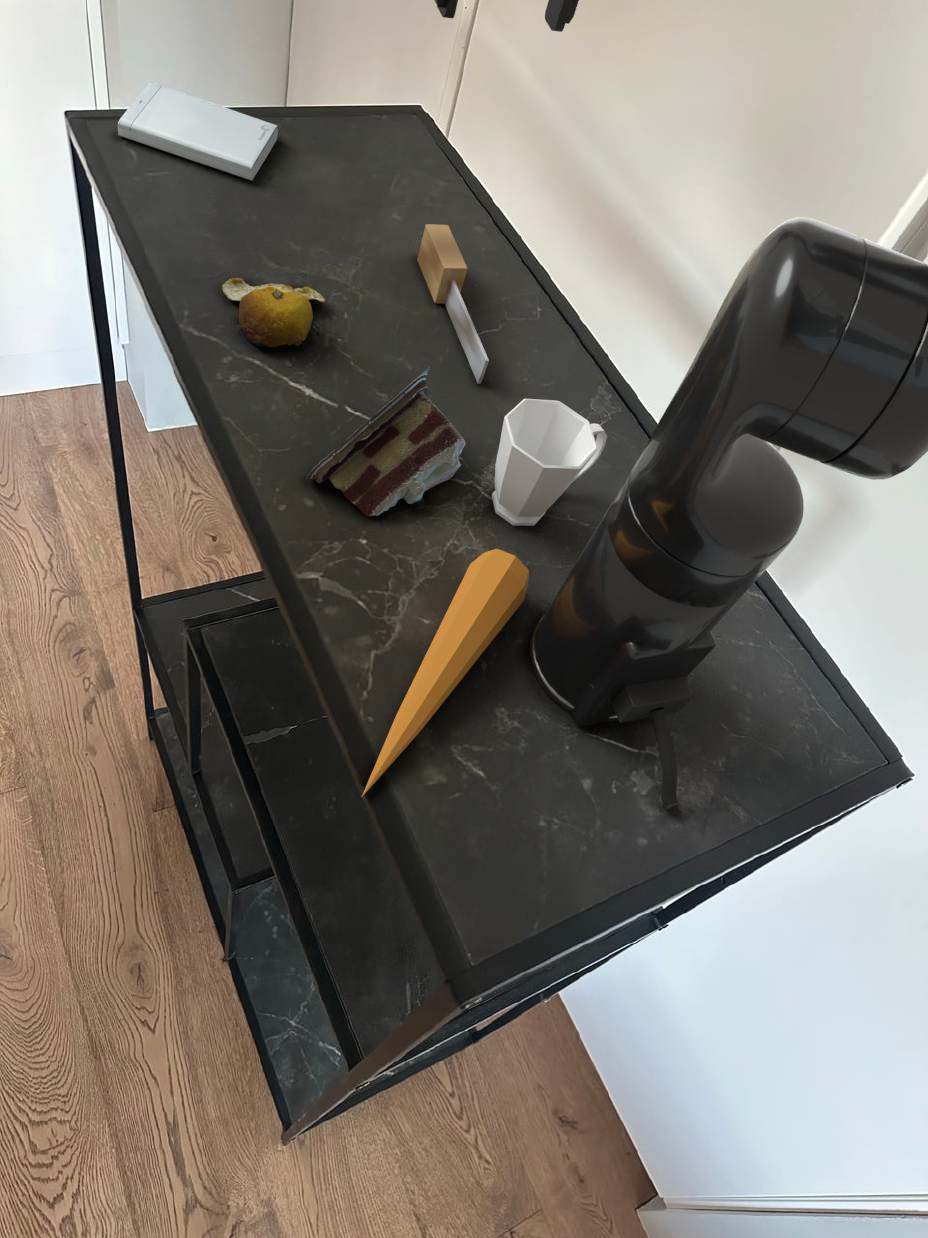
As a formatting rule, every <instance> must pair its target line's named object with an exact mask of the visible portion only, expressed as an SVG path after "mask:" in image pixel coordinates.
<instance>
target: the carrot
mask: <svg viewBox="0 0 928 1238" xmlns="http://www.w3.org/2000/svg"><path fill="white" fill-rule="evenodd" d="M529 578H530V570H529V569H528V568H527V566H526V565H525V564H524V563H523V562H522V561H521V560H520V559H519V558H518V557H517V555H515V554H513V553H509V552H507V551H505V550H502V549H499V548H494V549H491V550H488V551H485V552H483V553H481V555H479V556H478V557H477V558H475V560H473V561H472V562H471V563H470V564H468V568H467V569H466V572H465V573H464V576H463V578H462V580H461V582H460V584H459V586H458V588H457V590H456V592H455V594H454V596H453V599H452V601H450V604H449V606H448V608H447V611H446V613H445V615H444V617H443V619H442V621H441V623H440V625H439V627H438V629H437V631H436V633H435V634H434V637H433V639H432V641H431V644H430V645H429V647H428V649H427V651H426V654H425V655H424V658H423V659H422V662H421V663H420V666H419V668H418V670H417V672H416V673H415V676H414V678H413V680H412V682H411V684H410V686H409V688H408V690H407V692H406V694H405V696H404V699H403V701H402V702H401V705H400V707H399V709H398V711H397V713H396V715H395V716H394V717H395V718H394V720H393V722H392V724H391V727H390V729H389V731H388V734H387V736H386V738H385V741H384V743H383V745H382V747H381V750H380V753H379V755H378V757H377V760H376V762H375V765H374V767H373V769H372V771H371V774H370V777H369V778H368V781H367V783H366V786H365V788H364V790H363V793H362V794H361V798H363V797H364V796H365V794H366V793H367V792H368V791H369V790H370V789H371V788H372V787H373V785H375V783H376V782H377V781H378V780H379V779H380V778H381V776H382V775H383V774H384V773H385V772H386V771H387V770H388V769H389V767H390V766H391V765H392V764H393V763H394V762H395V761H396V760H397V758H398V757H399V756H400V755H401V754H402V753H403V751H404V750H405V749H407V747H408V746H409V745H410V743H412V741H413V740H414V739H415V738H416V737H417V736H418V735H419V733H420V732H422V730H423V729H424V728H425V726H426V725H427V723H429V721H430V720H431V719H432V717H433V716H434V715H435V714H436V712H437V711H438V710H439V709H440V707H441V706H442V705H443V703H444V702H445V701H446V699H447V698H448V697H449V696H450V695H451V693H453V691H454V690H455V688H456V687H457V686H458V685H459V684H460V682H461V681H462V680H463V679H464V677H465V676H466V675H467V673H468V672H469V670H470V669H471V668H472V667H473V665H474V664H475V663H476V662H477V660H478V659H479V658H480V657H481V656H482V654H483V653H484V652H485V651H486V649H487V648H488V647H489V645H491V643H492V641H493V640H494V639H495V638H496V636H498V634H499V633H500V632H501V630H502V629H503V628H504V627H505V625H506V624H507V623H508V621H509V620H510V619H511V618H512V616H513V615H514V613H515V612H516V611H517V610H518V609H519V608H520V606H521V605H522V604H523V603H524V601H525V598H526V594H527V591H528V586H529V580H530V579H529Z"/></svg>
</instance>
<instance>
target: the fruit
mask: <svg viewBox="0 0 928 1238" xmlns="http://www.w3.org/2000/svg"><path fill="white" fill-rule="evenodd" d="M221 289H222V292H223V294H224V295H225V297H226V298H227V299H228V300H229V301H235V302H236V301H237V302H239V307H238V311H239V313H238V323H239V324H240V330H241V331H242V332H243V334H244V336H245V337H246V339H247V340H248V341H249V342H251V343H252V344H253V345H254V346H256V347H257V346H258V347H264V348H265V347H269V348H277V347H278V346H285V345H287V346H291V345H295V346H297V347H299V346H300V345H301V344H302V342H303V341H305V340H307V337H308V334H309V333H310V329H311V326H312V322H313V319H314V316H313V309H312V303H311V302H310V301H309V300H317V301H319V302H320V303H318V304H315V305H314V307H317V306H321V305H323V304H325V303H326V299H325V297H324V296H323V295H322V294H321V293H320V292H318V291H317V290H315V289H313V288H312V287H311V288H310V287H309V286H304V287H297V288H293V287H292V286H290V285H287V284H284V283H271V282H270V283H266V284H259V285H257V286H256V285H255V286H252V285H249V283H246V282H245V281H244V279H243V278H241V277H239V278H238V277H230V278H229V279H228V280H226V281H225V282H224V283H223V284H222V285H221Z"/></svg>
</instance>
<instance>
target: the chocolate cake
mask: <svg viewBox="0 0 928 1238" xmlns="http://www.w3.org/2000/svg"><path fill="white" fill-rule="evenodd" d="M431 367H432V365H429V366H428V367H427V368H426V369H424V370H422V372H421V373H420V374H419V375H418V376H416V378H415V379H414V380H413V381H412V382H411V383H409V384H407V386H406V387H405V388H403V389H402V390H401V391H398V393H397V394H395V395H394V396H393V397H392V398H391V399H389V401H388V402H386V403H385V404H384V405H383V406H382V407H381V408H380V409H379V410H378V411H377V412H376V413H374V414H373V415H372V416H371V417H370V418H369V419H368V420H367V421H366V422H365V423H363V424H362V425H361V426H360V427H358V428H357V429H356V430H355V431H353V432H352V433H351V434H350V435H349V436H348V437H347V439H345V440H344V441H343V442H342V443H341V444H340V445H339V446H338V447H335V448H334V449H332V450H331V451H329V453H328V454H327V455H326V456H325V457H324V458H322V459H321V460H319V462H318V463H317V464H316V465H315V466H313V468H312V469H311V470H310V471H309V472H308V474H307V476H306V478H305V480H306V481H308V480H313V481H314V482H316V483H319V484H321V483H324V482H325V481H327V480H328V479H329V481H330V483H331V484H332V485H333V487H334V488H335V489H338V490H340V491H341V492H342V494H343V496H344V497H345V498H346V499H347V500H349V501H350V503H352V504H353V505H354V506H356V507H357V508H358V510H359V511H360V512H361V513H362V514H363V515H364V516H366V517H372V516H373V517H375V516H376V517H377V516H380V515H381V514H382V513H384V512H387V511H389V510H390V508H392V507H395V506H396V505H397V503H398V501H399V500H401V499H404V501H405V503H407V504H409V505H413V506H414V507H417V508H419V507H422V506H423V505H424V504H425V500H424V498H423V496H424V493H425V492H426V491H429V490H430V489H431V488H433V487H435V486H437V485H439V484H441V483H444V482H447V481H448V480H451V478H453V477H454V475H455V474H456V472H457V471H458V470H459V468H460V467H461V466H462V464H461V462H460V458H459V457H460V455H461V453H462V452H463V449H464V448H465V446H466V441H465V438H464V437H463V436H462V435H461V433H459V431H458V430H457V428H456V427H455V425H454V424H453V423H452V422H451V421H450V420H449V418H448V417H446V416H445V414H444V413H443V412H442V411H441V410H440V409H439V407H437V405H436V404H435V403H434V402H433V401H432V400H431V399H430V398H429V397H428V396H427V393H428V391H429V389H430V388H429V386H428V383H427V377H428V373H429V371H430V369H431Z"/></svg>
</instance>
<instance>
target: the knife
mask: <svg viewBox="0 0 928 1238" xmlns="http://www.w3.org/2000/svg"><path fill="white" fill-rule="evenodd" d="M416 261H417V263H418V266H419V268H420V270H421V273H422V275H423V278H424V280H425V283H426V285H427V289H428V290H429V293H430V295H431V298H432V300H433V303H434V304H439V305H440V304H444V306H445V308H446V311H447V313H448V316H449V318H450V320H451V323H452V325H453V328H454V331H455V332H456V335H457V338H458V339H459V343H461V347H462V350H463V351H464V354H465V356H466V358H467V361H468V363H469V366H470V368H471V371H472V374H473V376H474V378H475V380H476V384H478V385H480V384H482V382H483V379H484V376H485V373H486V370H487V367H488V365H489V363H490V360H489V357H488V355H487V352H486V350H485V348H484V346H483V343H482V340H481V338H480V336H479V333H478V332H477V330H476V327H475V324H474V322H473V320H472V317H471V315H470V312H469V311H468V308H467V306H466V303H465V301H464V299H463V297H462V294H461V291H462V288H463V285H464V282H465V278H466V275H467V273H468V266H467V265H466V262H465V260H464V258H463V255H462V253H461V250H460V248H459V246H458V244H457V241H456V240H455V237H454V235H453V232H452V230H451V228H450V226H449V224H437V223H436V224H435V223H433V224H431V223H426V224H425V225H424V230H423V233H422V237H421V242H420V247H419V250H418V254H417V259H416Z"/></svg>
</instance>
